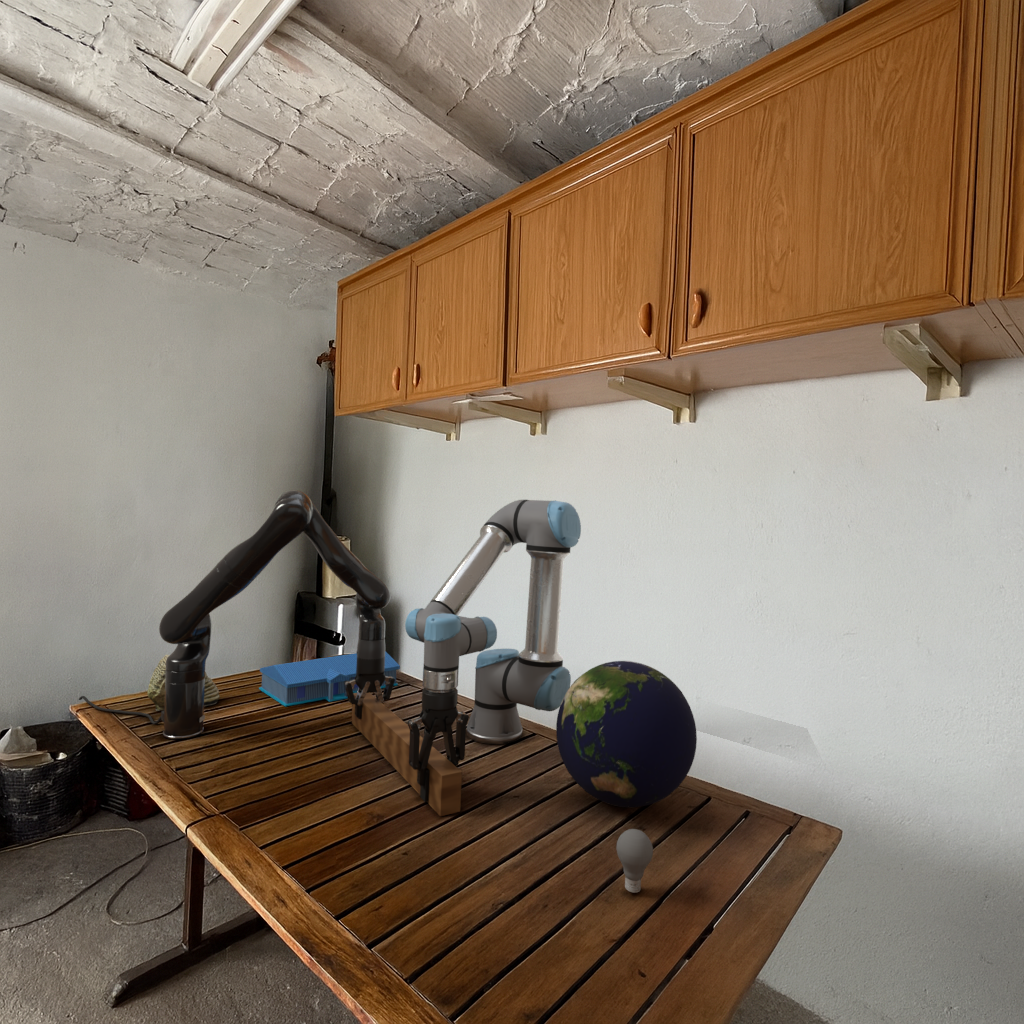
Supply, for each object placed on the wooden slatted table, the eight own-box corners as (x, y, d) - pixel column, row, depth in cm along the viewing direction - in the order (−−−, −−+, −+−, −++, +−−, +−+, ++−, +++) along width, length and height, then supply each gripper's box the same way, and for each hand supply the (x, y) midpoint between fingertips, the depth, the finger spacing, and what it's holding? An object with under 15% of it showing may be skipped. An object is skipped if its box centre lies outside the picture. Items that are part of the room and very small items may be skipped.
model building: (289, 709, 186) (291, 675, 185) (258, 688, 204) (259, 657, 204) (403, 687, 212) (405, 657, 212) (366, 670, 230) (368, 643, 230)
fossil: (144, 707, 182) (145, 655, 182) (212, 696, 194) (213, 647, 194) (151, 716, 175) (153, 662, 175) (221, 703, 188) (223, 653, 188)
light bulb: (610, 879, 108) (613, 822, 108) (644, 879, 109) (647, 822, 109) (619, 902, 102) (622, 840, 102) (655, 901, 103) (658, 840, 103)
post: (351, 722, 178) (352, 693, 177) (367, 720, 180) (368, 691, 180) (440, 816, 128) (441, 775, 127) (460, 811, 130) (462, 771, 130)
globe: (533, 814, 130) (540, 669, 129) (575, 761, 157) (580, 641, 157) (683, 851, 118) (691, 691, 118) (699, 786, 146) (706, 657, 146)
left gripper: (349, 660, 165) (346, 725, 166) (400, 655, 173) (398, 717, 173) (340, 653, 172) (338, 716, 172) (391, 649, 179) (388, 709, 179)
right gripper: (408, 698, 127) (403, 813, 127) (485, 687, 136) (480, 795, 136) (394, 687, 133) (389, 797, 134) (468, 678, 142) (464, 781, 143)
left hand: (368, 716), depth 172 cm, fingers closed on post, 4 cm apart
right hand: (435, 796), depth 135 cm, fingers closed on post, 5 cm apart
